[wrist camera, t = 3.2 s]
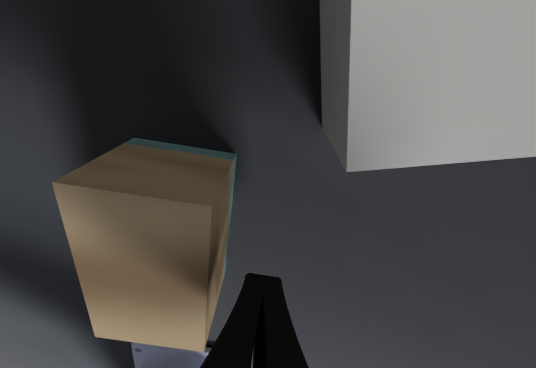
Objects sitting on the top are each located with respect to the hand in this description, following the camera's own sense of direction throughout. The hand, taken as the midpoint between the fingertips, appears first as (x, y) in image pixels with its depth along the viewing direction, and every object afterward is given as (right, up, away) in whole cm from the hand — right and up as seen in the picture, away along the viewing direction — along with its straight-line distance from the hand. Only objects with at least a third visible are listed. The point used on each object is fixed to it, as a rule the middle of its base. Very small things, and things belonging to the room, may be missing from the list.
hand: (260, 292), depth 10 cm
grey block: (+5, +9, 0) cm, 11 cm away
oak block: (-4, +3, +4) cm, 7 cm away
